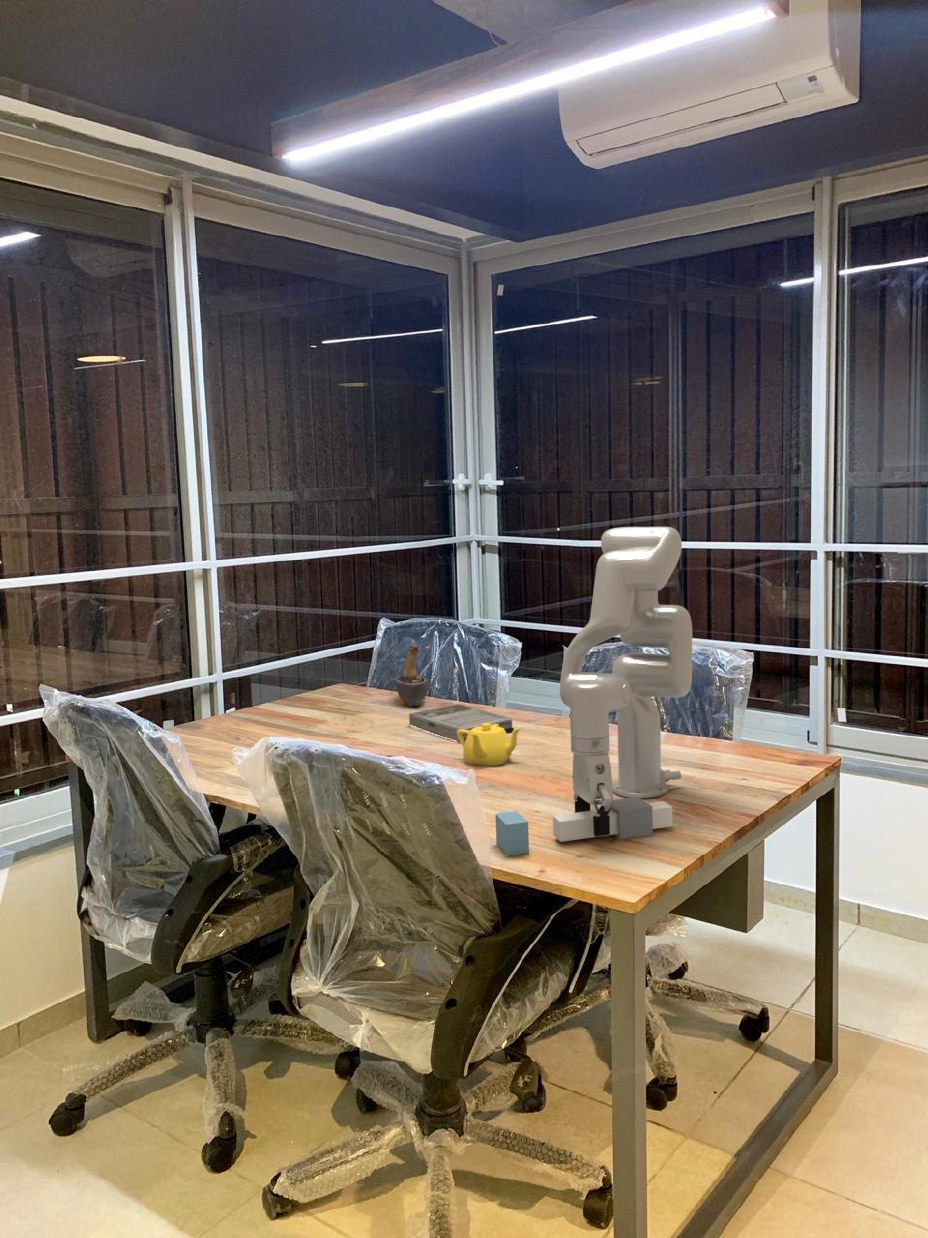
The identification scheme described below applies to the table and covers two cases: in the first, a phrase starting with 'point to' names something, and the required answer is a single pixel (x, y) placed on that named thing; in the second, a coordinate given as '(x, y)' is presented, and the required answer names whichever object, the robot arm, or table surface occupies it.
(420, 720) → the hard drive
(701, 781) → the table surface
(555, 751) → the table surface
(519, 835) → the socket
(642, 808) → the sleeve
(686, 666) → the robot arm
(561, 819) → the bar
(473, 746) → the teapot
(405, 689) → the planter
